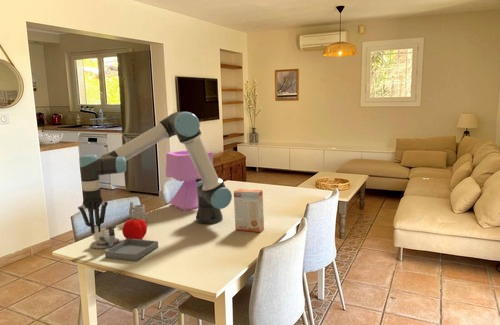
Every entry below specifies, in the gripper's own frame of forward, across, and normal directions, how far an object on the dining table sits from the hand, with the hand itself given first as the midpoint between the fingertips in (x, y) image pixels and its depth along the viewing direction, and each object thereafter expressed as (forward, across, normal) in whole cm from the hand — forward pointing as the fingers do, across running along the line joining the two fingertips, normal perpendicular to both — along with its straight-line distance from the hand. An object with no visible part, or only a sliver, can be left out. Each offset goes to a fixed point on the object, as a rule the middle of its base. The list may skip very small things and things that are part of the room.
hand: (96, 239), depth 173 cm
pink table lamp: (+6, -75, -35) cm, 83 cm away
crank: (+3, -6, -1) cm, 6 cm away
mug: (+6, -33, -27) cm, 42 cm away
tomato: (+6, -19, -1) cm, 20 cm away
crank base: (+6, -6, -6) cm, 10 cm away
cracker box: (+6, -66, +31) cm, 74 cm away
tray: (+6, -10, +14) cm, 18 cm away
